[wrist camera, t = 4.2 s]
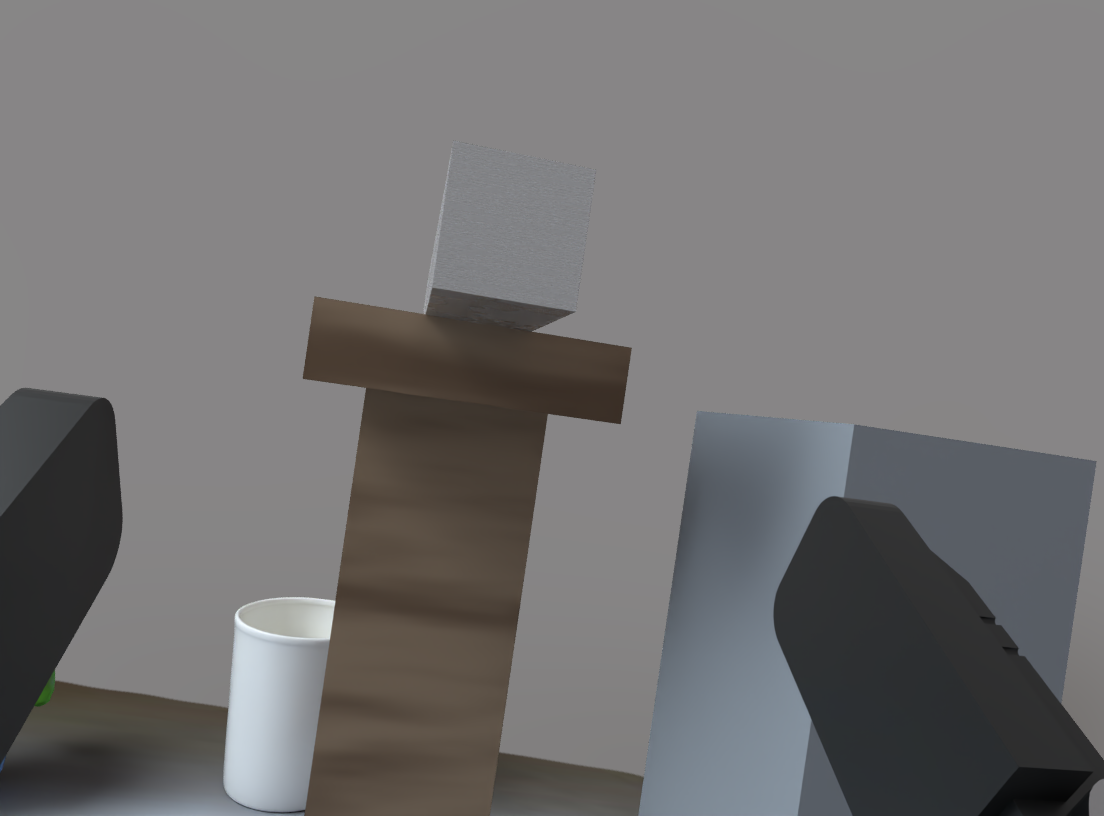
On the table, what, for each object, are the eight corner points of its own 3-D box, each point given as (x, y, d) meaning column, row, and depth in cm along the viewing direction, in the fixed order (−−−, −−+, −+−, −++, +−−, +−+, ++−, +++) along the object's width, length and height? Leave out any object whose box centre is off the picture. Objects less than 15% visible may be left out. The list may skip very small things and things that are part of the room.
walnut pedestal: (539, 1159, 30) (656, 351, 30) (158, 1173, 28) (286, 292, 28) (494, 896, 46) (571, 363, 46) (248, 890, 44) (330, 325, 44)
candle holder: (254, 836, 49) (281, 647, 49) (185, 771, 55) (209, 604, 55) (382, 792, 56) (405, 628, 56) (308, 739, 63) (329, 592, 62)
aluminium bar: (575, 311, 22) (596, 169, 22) (432, 287, 21) (453, 140, 21) (485, 352, 47) (494, 286, 47) (418, 341, 46) (428, 275, 46)
